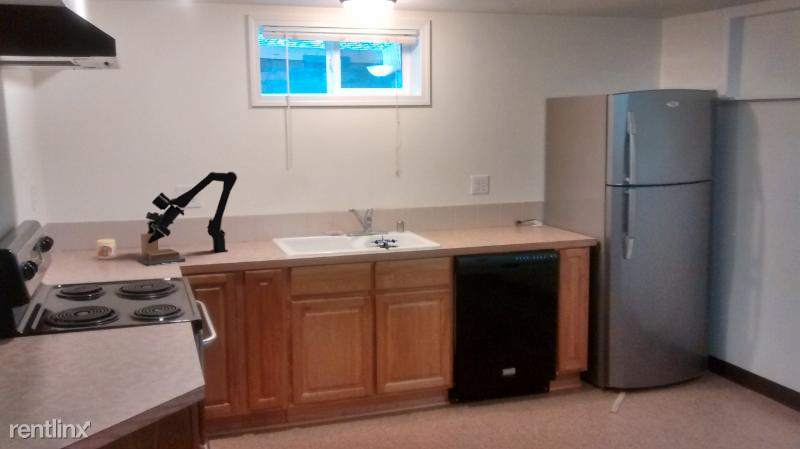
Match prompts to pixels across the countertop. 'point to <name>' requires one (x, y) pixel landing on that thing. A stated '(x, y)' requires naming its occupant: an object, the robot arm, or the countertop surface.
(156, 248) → the terracotta brick
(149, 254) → the tower base
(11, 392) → the countertop surface
